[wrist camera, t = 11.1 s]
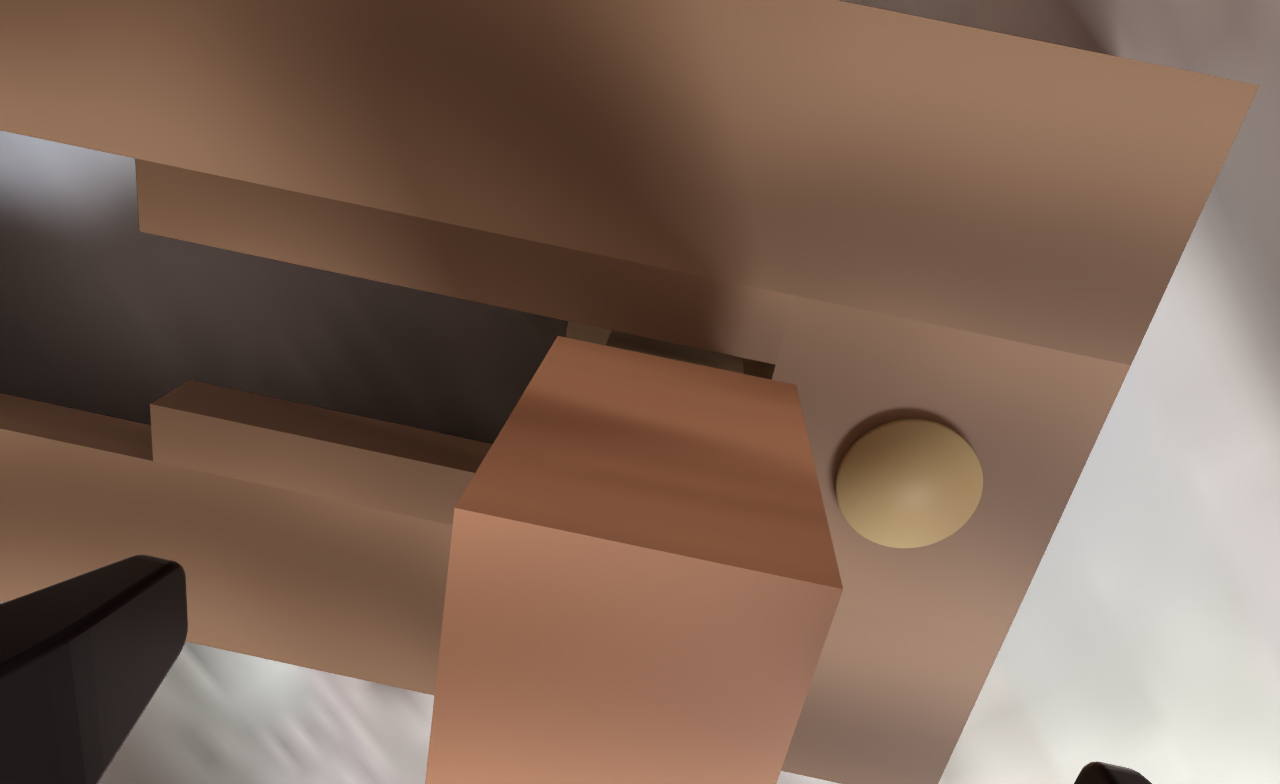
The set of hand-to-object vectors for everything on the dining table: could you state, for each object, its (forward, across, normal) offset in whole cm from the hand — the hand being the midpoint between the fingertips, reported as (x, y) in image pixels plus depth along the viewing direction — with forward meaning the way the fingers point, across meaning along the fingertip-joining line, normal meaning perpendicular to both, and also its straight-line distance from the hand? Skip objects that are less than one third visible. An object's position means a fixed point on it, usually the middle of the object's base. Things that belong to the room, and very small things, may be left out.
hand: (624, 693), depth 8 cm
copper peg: (+10, 0, 0) cm, 10 cm away
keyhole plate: (+10, +6, 0) cm, 12 cm away
